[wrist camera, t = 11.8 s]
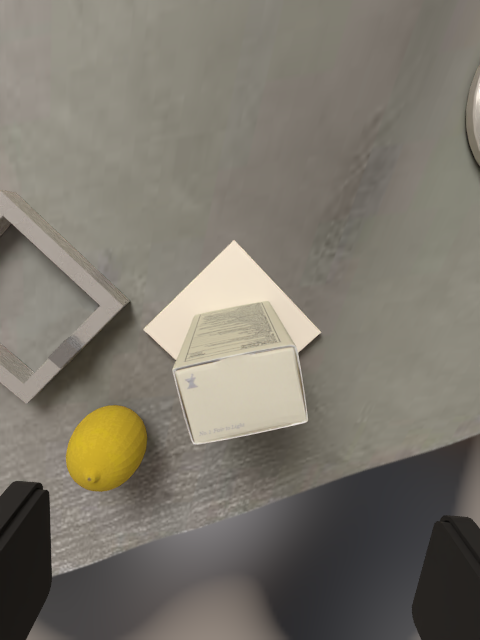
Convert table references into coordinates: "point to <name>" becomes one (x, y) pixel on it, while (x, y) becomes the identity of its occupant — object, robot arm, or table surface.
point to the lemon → (106, 448)
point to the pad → (227, 300)
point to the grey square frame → (14, 210)
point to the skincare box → (239, 374)
